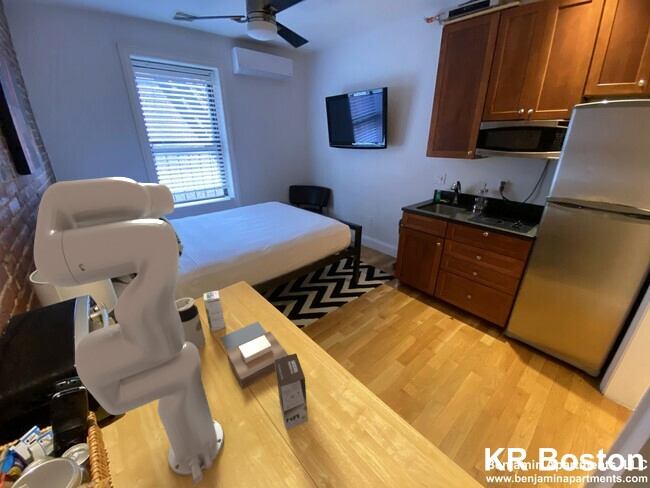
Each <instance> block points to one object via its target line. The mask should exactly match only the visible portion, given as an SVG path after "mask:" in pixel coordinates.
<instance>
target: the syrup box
mask: <svg viewBox="0 0 650 488" xmlns="http://www.w3.org/2000/svg"><path fill="white" fill-rule="evenodd" d="M203 303H204V310H205V314H206V319H207V323H208V328H209V332H215V331H218V330H222V329H224V328H226V323H225V318H224V311H223V306H222V301H221V295H220V292H219V290H213V291H209V292H205V293H203Z"/></svg>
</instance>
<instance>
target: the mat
mask: <svg viewBox="0 0 650 488" xmlns="http://www.w3.org/2000/svg"><path fill="white" fill-rule="evenodd" d="M265 333H267V332H266V330H265V328H264V327H263V326H262V325H261V323H260V322H259V321H255V322H252V323H251V324H248V325H246V326H244V327H241V328H239V329H236V330H234V331H231V332H229V333H227V334H225V335H222V336H220V339H221V341H222V343H223V345H224V347H225V349H226V351H227V350H229V349H232V348H234V347H236V346H238V345H240V344H243V343H245V342H247V341H249V340H252V339H254V338H256V337H258V336H260V335H263V334H265Z"/></svg>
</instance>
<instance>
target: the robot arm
mask: <svg viewBox="0 0 650 488" xmlns="http://www.w3.org/2000/svg"><path fill="white" fill-rule="evenodd" d="M40 199H41V200H40V202H39V207H38V213H37V219H36V227H35V228H36V229H35V235H34V243H33V259H34V264H35V268H36V270H37V273H38V275H40V277H41V278H42V279H43V280H44V281H45V282H46V283H48V284H49V285H51V286H54V287H57V288H73V287H78V286H82V285H87V284H92V283H96V282H101V281H104V280H108V279H114V278H119V277H123V276H127V275H131V274H136V276H135V277H134V278H133V279H132V280H131V282H129V283H128V284H127V286H126V287H125V288H124V290H123V292H122V293H121V295H119V298H118V299H117V301H116V304H115V306H114V309H113V312H114V313H113V314H114V317H115V320H116V321H117V323H114V324H112V325H107V326H103V327H101V328H98V329H95V330H92V331H91V332H89V333H87V334H85V335H84V336H83V337H82V338H81V339H80V340H79V342H78V344H77V346H76V347H75V348H76V349H75V353H74V363H75V364H74V365H75V368H76V373H77V375H78V378H79V379H80V381H81V382H82V384H83V385H84V387H85V388H86V390H88V392H89V394H91V395H92V397H93V398H94V399H95V400H96V401H97V402H98V403H99V405H100V406H101V408H103V409H104V410H105V411H106V412H107V413H108V414H110V415H113V416H117V415H122V414H125V413H129V412H131V411H133V410H136V409H138V408H140V407H143V406H145V405H147V404H150V403H152V402H155V401H157V400H158V404H157V412H158V416H159V419H160V421H161V423H162V426H163V428H164V430H165V433H166V436H167V438H168V441H169V443H170V445H169V450H168V453H167V454H168V455H167V460H168V465H169V467H170V468H171V470H172V471H173V472H174V473H175V474H178V475H180V476H192V480H193V483H195V484H196V483H199V482H200V481H202V479H203V478H204V473H203V470H205V469H206V470H208V469H210V468H211V467H212V466H213V462H214V460H215V459H216V458H217V456H218V455H219V453H220V452H221V450H222V448H223V444H224V436H225V435H224V429H223V427H222V425H221V423H220V422H218V420H215V419H213V416H212V412H211V409H210V405H209V401H208V397H207V394H206V391H205V386H204V381H203V376H202V365H201V364H202V362H201V355H200V352H199V349H197V347H196V346H195V345H194V344H193V343H191V342H186V341H185V334H184V329H183V326H182V322H181V319H180V316H179V312H178V309H177V306H176V302H175V301H176V299H175V297H176V296H175V295H176V289H177V284H178V279H179V274H180V258H181V257H182V254H183V250H184V245H183V244H180V243H179V242H178V239H177V234H176V232H175V230H174V228H173V226H172V225H171V224H170V223H169V222H167V221H165V220H161V219H160V218H159V217H160V216H166V215H170V214H172V213H174V210H175V200H174V196H173V194H172V191H171V189H170V188H169V187H168V186H167V185H165V184H163V183H144V182H143V183H142V182H137V181H136V180H133V179H131V178H128V177H122V176H111V177H110V176H109V177H102V178H101V177H100V178H90V179H77V180H65V181H63V180H62V181H57V182H55V183H52V184H51V185H50V186H49V187H48V188H47V189H45V191H44V193H43V194H42V197H41V198H40Z"/></svg>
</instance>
